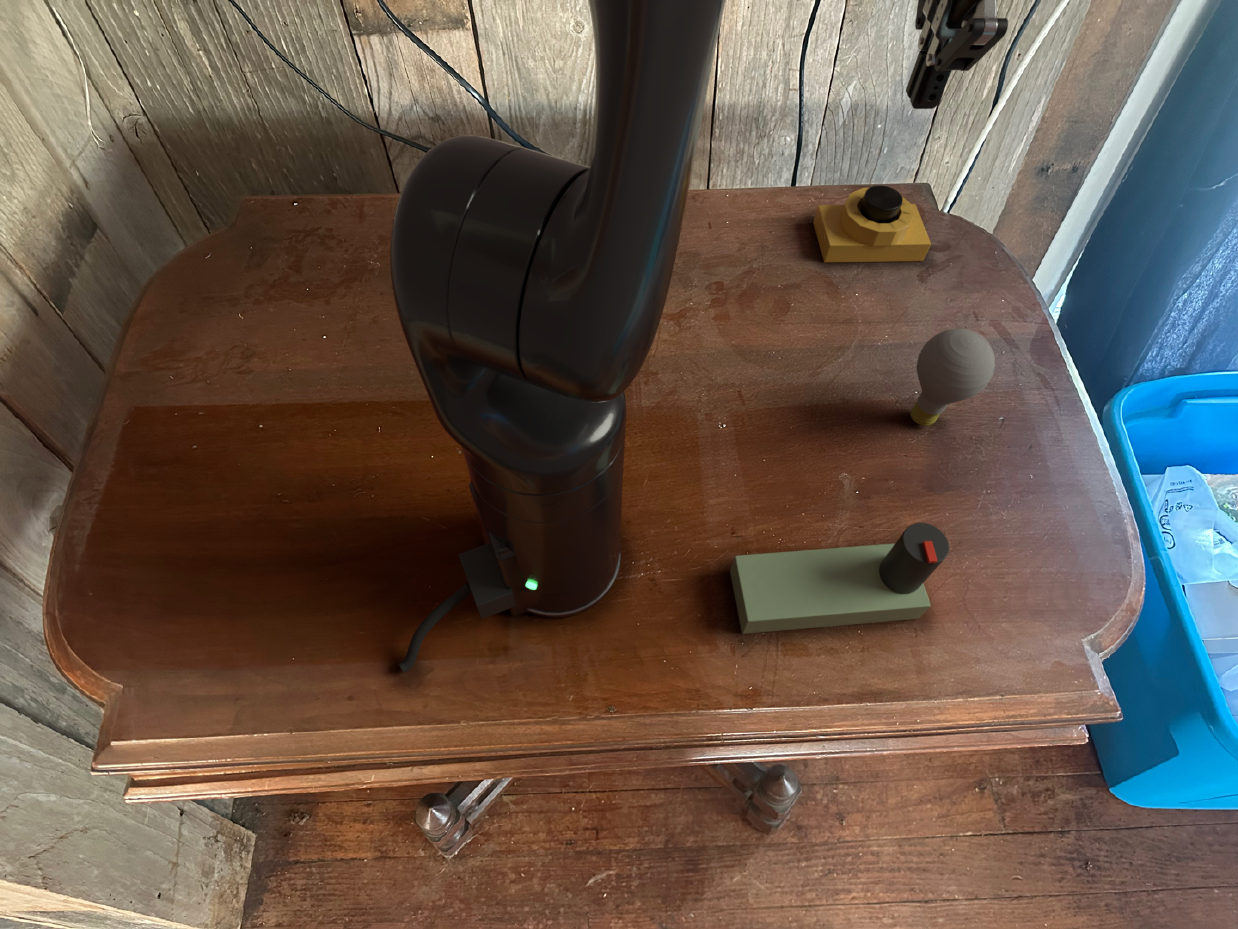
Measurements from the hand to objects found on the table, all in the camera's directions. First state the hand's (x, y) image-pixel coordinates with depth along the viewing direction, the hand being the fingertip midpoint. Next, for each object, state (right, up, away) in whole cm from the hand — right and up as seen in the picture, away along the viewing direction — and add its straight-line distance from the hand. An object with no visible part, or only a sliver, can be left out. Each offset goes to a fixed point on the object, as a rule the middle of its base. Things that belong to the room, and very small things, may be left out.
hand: (920, 100), depth 63 cm
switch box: (0, -8, +13) cm, 15 cm away
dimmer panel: (-11, -40, -8) cm, 42 cm away
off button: (0, -6, +10) cm, 11 cm away
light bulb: (0, -27, +1) cm, 27 cm away
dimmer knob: (-5, -39, -10) cm, 40 cm away
